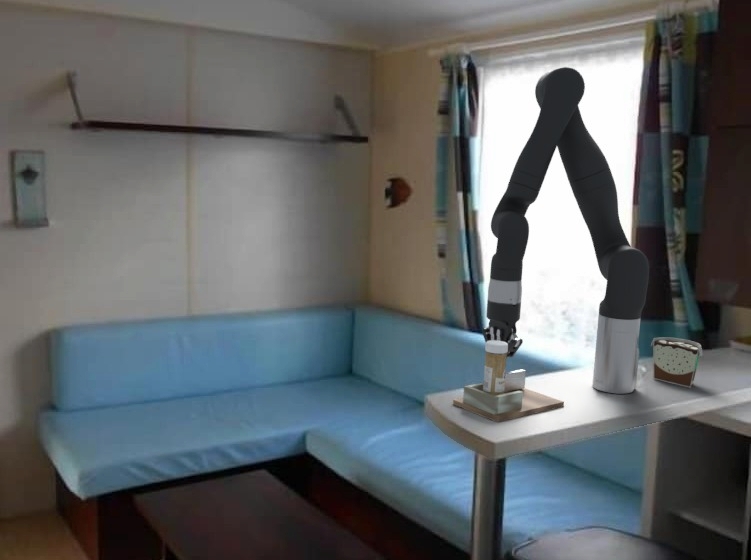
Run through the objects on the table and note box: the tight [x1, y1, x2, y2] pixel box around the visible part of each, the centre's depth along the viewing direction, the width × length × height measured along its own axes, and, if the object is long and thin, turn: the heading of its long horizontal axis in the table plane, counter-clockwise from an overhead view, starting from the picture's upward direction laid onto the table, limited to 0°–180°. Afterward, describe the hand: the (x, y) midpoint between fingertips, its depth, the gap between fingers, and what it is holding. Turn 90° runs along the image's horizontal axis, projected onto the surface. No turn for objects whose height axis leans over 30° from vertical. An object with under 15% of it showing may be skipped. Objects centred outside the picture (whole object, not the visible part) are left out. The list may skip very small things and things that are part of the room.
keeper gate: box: [504, 369, 527, 392], centre depth 173 cm, size 11×2×4 cm, turn 127°
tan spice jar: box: [482, 340, 508, 396], centre depth 162 cm, size 5×5×13 cm
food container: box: [650, 336, 703, 389], centre depth 191 cm, size 12×6×10 cm, turn 44°
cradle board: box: [452, 382, 565, 423], centre depth 167 cm, size 20×13×4 cm, turn 127°
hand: (499, 373), depth 180 cm, fingers closed
